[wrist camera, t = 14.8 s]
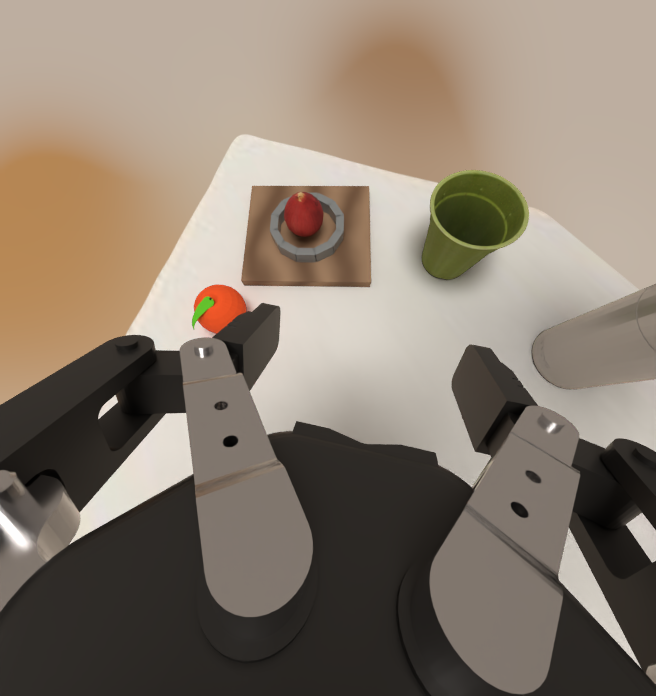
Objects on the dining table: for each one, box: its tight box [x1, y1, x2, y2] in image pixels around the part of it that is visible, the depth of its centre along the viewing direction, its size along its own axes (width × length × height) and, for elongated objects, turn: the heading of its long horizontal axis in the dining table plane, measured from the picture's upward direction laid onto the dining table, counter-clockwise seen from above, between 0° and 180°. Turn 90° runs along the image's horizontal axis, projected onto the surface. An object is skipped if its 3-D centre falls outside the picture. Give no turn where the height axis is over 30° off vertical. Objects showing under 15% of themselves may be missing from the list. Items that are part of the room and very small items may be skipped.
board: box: [241, 186, 371, 287], centre depth 45 cm, size 20×18×2 cm
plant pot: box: [422, 170, 529, 279], centre depth 39 cm, size 12×12×11 cm
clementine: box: [192, 285, 246, 333], centre depth 39 cm, size 8×7×7 cm
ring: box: [270, 193, 344, 262], centre depth 43 cm, size 11×11×2 cm
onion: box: [284, 192, 324, 237], centre depth 40 cm, size 6×6×8 cm
